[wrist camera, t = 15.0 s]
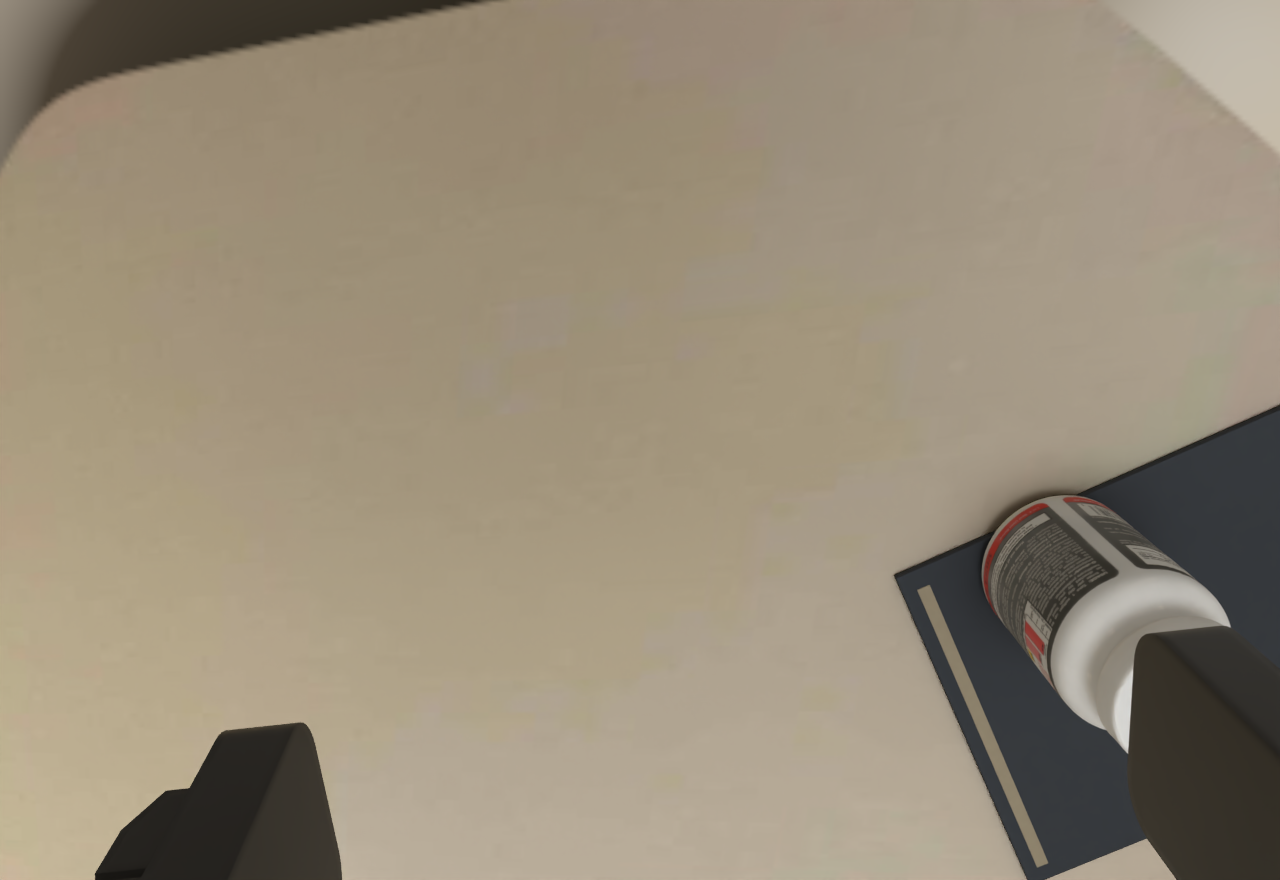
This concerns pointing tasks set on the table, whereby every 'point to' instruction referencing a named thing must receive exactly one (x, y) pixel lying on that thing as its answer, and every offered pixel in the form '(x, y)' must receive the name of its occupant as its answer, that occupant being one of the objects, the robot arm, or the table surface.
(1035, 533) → the pill bottle
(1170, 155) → the table surface
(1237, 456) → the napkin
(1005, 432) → the table surface
